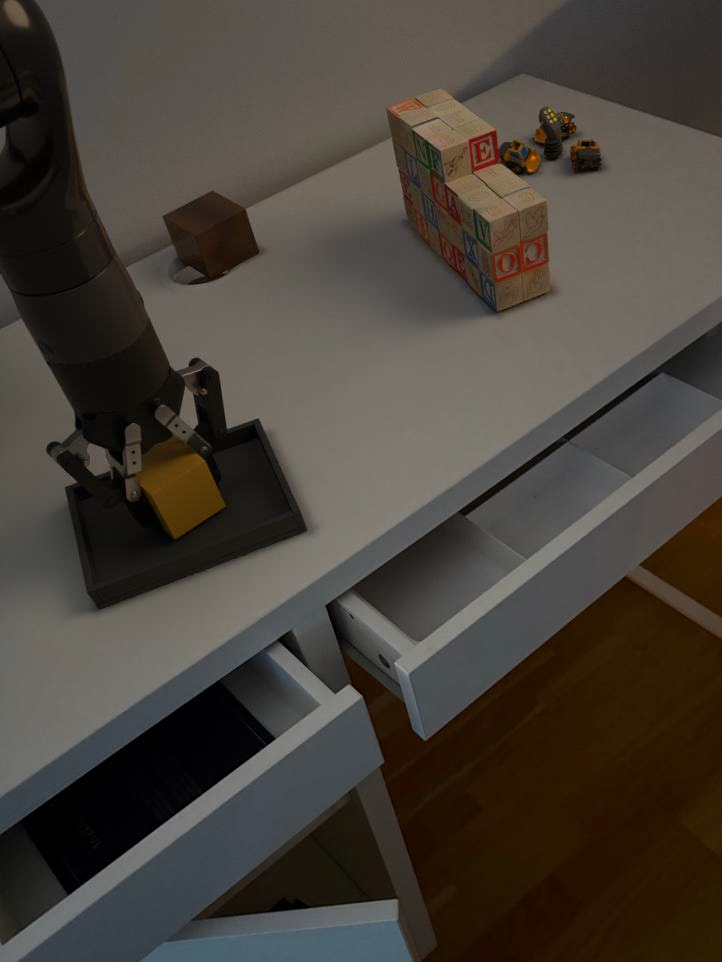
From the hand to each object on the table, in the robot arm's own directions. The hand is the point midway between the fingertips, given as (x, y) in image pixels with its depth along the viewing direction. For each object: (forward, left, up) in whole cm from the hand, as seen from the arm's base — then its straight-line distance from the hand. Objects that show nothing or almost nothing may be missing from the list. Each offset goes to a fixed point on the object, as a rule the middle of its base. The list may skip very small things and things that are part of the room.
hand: (182, 505), depth 77 cm
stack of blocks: (+36, +23, -2) cm, 43 cm away
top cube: (0, 0, 0) cm, 0 cm away
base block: (+12, +39, -1) cm, 41 cm away
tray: (0, 0, -1) cm, 1 cm away
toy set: (+52, +36, -2) cm, 63 cm away
